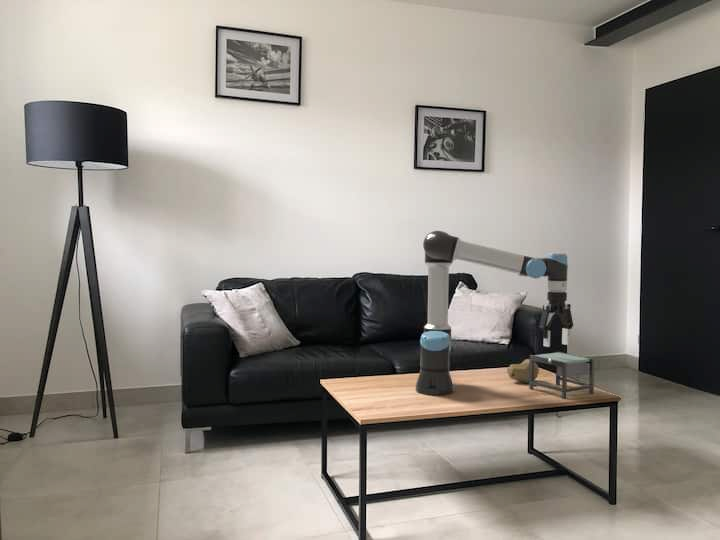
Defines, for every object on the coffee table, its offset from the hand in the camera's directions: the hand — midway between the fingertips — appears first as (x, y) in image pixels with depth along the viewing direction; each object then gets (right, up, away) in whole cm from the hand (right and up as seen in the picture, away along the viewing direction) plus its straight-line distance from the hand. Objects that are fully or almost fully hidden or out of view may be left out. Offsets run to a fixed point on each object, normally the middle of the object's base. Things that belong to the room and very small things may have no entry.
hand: (556, 345), depth 242 cm
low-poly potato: (-10, -18, +14) cm, 25 cm away
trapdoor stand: (+1, -18, -2) cm, 19 cm away
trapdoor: (+1, -10, -2) cm, 11 cm away
